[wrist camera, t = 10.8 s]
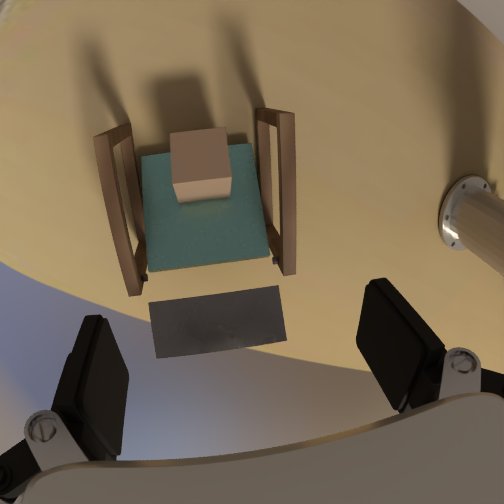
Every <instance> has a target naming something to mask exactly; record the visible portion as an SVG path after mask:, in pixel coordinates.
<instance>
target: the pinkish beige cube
mask: <svg viewBox="0 0 504 504" xmlns="http://www.w3.org/2000/svg"><path fill="white" fill-rule="evenodd" d="M170 152H171V170H172V184H173V187H174V190H175V193H176V196H177V199H178V202H179V203H185V202H193V201H201V200H209V199H218V198H227V197H230V190H231V181H232V173H231V166H230V158H229V151H228V144H227V136H226V128H225V127H222V128H211V129H202V130H193V131H184V132H176V133H170Z"/></svg>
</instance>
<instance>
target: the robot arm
mask: <svg viewBox="0 0 504 504" xmlns="http://www.w3.org/2000/svg"><path fill="white" fill-rule="evenodd" d="M439 232H440V235H441V238H442V240H443V242H444V243H445V244H446V245H447V246H448V247H450V248H451V249H453V250H459V251H460V250H464V249H469V250H470V251H471V252H473V253H474V254H475V255H477V256H478V257H479V258H481V259H482V260H483V261H484V262H486V263H487V264H488V265H490V266H491V267H492V268H493V269H495V270H496V271H497V272H498V273H500V274H501V275H502V276H503V277H504V200H503V199H501V198H499V197H497V196H495V195H494V194H492V192H491V189H490V186H489V185H488V183H487V182H486V181H485V180H484V179H482V178H480V177H478V176H475V175H469V176H465V177H463V178H462V179H460V180H459V181H458V182H456V183H455V184H454V186H453V187H452V188H451V189H450V191H449V192H448V194H447V195H446V198H445V200H444V202H443V205H442V208H441V212H440V217H439ZM356 344H357V347H358V348H359V350H360V352H361V354H362V355H363V357H364V359H365V360H366V362H367V364H368V366H369V367H370V369H371V371H372V372H373V374H374V376H375V378H376V379H377V381H378V383H379V385H380V386H381V388H382V390H383V392H384V393H385V395H386V397H387V399H388V400H389V402H390V404H391V406H392V408H393V409H394V410H398V412H399V413H400V414H398V415H394V416H391V417H389V418H386V419H383V420H380V421H376V422H374V423H370V424H367V425H364V426H360V427H357V428H354V429H350V430H347V431H343V432H339V433H336V434H332V435H328V436H324V437H320V438H316V439H312V440H307V441H303V442H298V443H294V444H289V445H284V446H278V447H273V448H267V449H261V450H255V451H249V452H242V453H234V454H226V455H218V456H208V457H198V458H184V459H167V460H138V461H137V460H135V461H116V457H117V455H120V454H121V446H122V436H123V425H124V416H125V406H126V398H127V390H128V383H129V373H128V370H127V367H126V365H125V363H124V360H123V358H122V355H121V353H120V350H119V348H118V345H117V343H116V340H115V338H114V335H113V333H112V330H111V328H110V325H109V322H108V320H107V319H106V318H103V317H102V316H101V315H87V316H85V318H84V320H83V323H82V325H81V328H80V331H79V333H78V336H77V339H76V341H75V344H74V347H73V350H72V353H70V354H69V355H68V357H67V360H66V362H65V365H64V369H63V372H62V375H61V378H60V381H59V384H58V388H57V390H56V394H55V397H54V400H53V404H52V408H51V411H50V410H42V411H38V412H36V413H34V414H33V415H32V416H30V417H29V419H28V420H27V421H26V424H25V427H24V435H25V439H24V440H22V441H21V442H19V443H18V444H16V445H15V446H14V447H12V448H11V449H9V450H8V451H6V452H5V453H3V454H2V455H1V456H0V504H504V374H501V373H497V372H494V371H490V370H487V369H483V368H481V363H480V360H479V358H478V356H477V355H476V354H475V353H473V352H472V351H470V350H468V349H465V348H460V347H457V348H452V349H450V350H449V351H448V352H447V350H446V349H445V348H444V347H445V345H444V344H443V343H442V341H441V340H440V339H439V338H438V337H437V335H436V334H435V333H434V332H433V331H432V329H431V328H430V327H429V326H428V325H427V323H426V322H425V321H424V320H423V319H422V318H421V316H420V315H419V314H418V313H417V312H416V311H415V310H414V308H413V307H412V306H411V305H410V304H409V303H408V302H407V300H406V299H405V298H404V297H403V296H402V295H401V294H400V293H399V291H398V290H397V289H396V288H395V287H394V286H393V285H392V284H391V283H390V282H389V280H388V279H386V278H379V279H373V280H371V281H370V282H369V284H367V285H366V287H365V293H364V299H363V304H362V310H361V315H360V321H359V326H358V331H357V336H356Z"/></svg>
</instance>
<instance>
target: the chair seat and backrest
mask: <svg viewBox="0 0 504 504" xmlns="http://www.w3.org/2000/svg"><path fill="white" fill-rule="evenodd" d="M228 151H229V158H230V166H231V173H232V181H231V190H230V197H227V198H218V199H209V200H201V201H193V202H185V203H179V202H178V199H177V196H176V193H175V190H174V187H173V184H172V170H171V152H168V153H162V154H155V155H149V156H142V157H141V162H142V191H143V210H144V225H145V239H146V251H147V261H148V271H149V272H150V273H151V272H159V271H167V270H174V269H182V268H190V267H197V266H205V265H213V264H220V263H228V262H235V261H243V260H250V259H258V258H265V257H269V256H270V252H269V245H268V239H267V233H266V227H265V221H264V215H263V209H262V203H261V197H260V191H259V185H258V179H257V173H256V168H255V162H254V156H253V150H252V144H251V143H248V144H237V145H228ZM149 311H150V319H151V326H152V332H153V339H154V345H155V352H156V358H168V357H177V356H186V355H194V354H203V353H210V352H218V351H225V350H231V349H239V348H245V347H252V346H258V345H264V344H270V343H276V342H281V341H287V338H286V332H285V325H284V318H283V312H282V305H281V299H280V292H279V286H278V285H276V286H270V287H263V288H256V289H249V290H242V291H235V292H228V293H221V294H213V295H206V296H198V297H190V298H182V299H174V300H166V301H158V302H149Z"/></svg>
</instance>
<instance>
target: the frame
mask: <svg viewBox="0 0 504 504" xmlns="http://www.w3.org/2000/svg"><path fill="white" fill-rule="evenodd" d="M269 124H270V125H272V126H275V127H277V142H278V170H279V203H280V235H279V234H278V232H277V230H276V229H275V227H274V225H273V208H272V180H271V155H270V133H269ZM256 126H257V144H258V163H259V183H260V197H261V203H262V209H263V215H264V221H265V227H266V233H267V239H268V245H269V248H270V250H271V252H272V254H273V256H274V257H272V261H273V264H278V266H279V268H280V270H281V272H282V274H283V276H288V275H294V274H296V150H295V115H294V113H291V112H286V111H281V110H275V109H269V108H258V109H256ZM93 140H94V146H95V153H96V159H97V165H98V170H99V176H100V181H101V186H102V191H103V196H104V201H105V206H106V210H107V215H108V219H109V224H110V228H111V232H112V236H113V240H114V244H115V248H116V252H117V256H118V260H119V263H120V267H121V271H122V274H123V278H124V281H125V285H126V288H127V292H128V295H129V296H138V295H141V294H142V289H143V284H144V282H145V281H148V276H147V274H146V269H147V264H148V261H147V251H146V239H145V225H144V210H143V201H142V195H141V189H140V183H139V177H138V171H137V164H136V158H135V151H134V143H133V136H132V128H131V123H130V124H125V125H120V126H118V127H115V128H113V129H111V130H108V131H106V132H104V133H101V134H99V135H97V136H95V137H93ZM120 142H121V148H122V155H123V161H124V167H125V174H126V180H127V185H128V191H129V196H130V202H131V207H132V212H133V217H134V222H135V227H136V232H137V236H138V241H139V243H138V246H137V249H136V252H135V256H134V254H133V250H132V246H131V242H130V237H129V233H128V228H127V224H126V219H125V214H124V209H123V204H122V199H121V194H120V189H119V183H118V178H117V172H116V166H115V160H114V153H113V147H114V146H115V145H117V144H118V143H120Z"/></svg>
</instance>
